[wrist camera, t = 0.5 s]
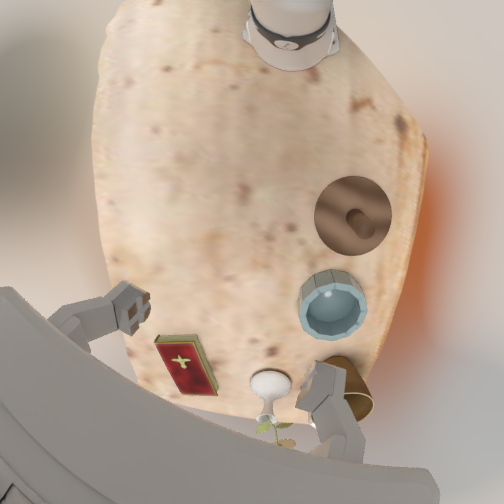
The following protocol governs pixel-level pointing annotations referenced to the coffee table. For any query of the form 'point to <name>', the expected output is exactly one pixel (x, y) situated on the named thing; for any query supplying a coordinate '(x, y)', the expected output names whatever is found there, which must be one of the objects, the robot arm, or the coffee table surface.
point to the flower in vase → (271, 401)
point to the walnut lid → (353, 216)
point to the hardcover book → (187, 364)
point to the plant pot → (353, 389)
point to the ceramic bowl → (331, 305)
